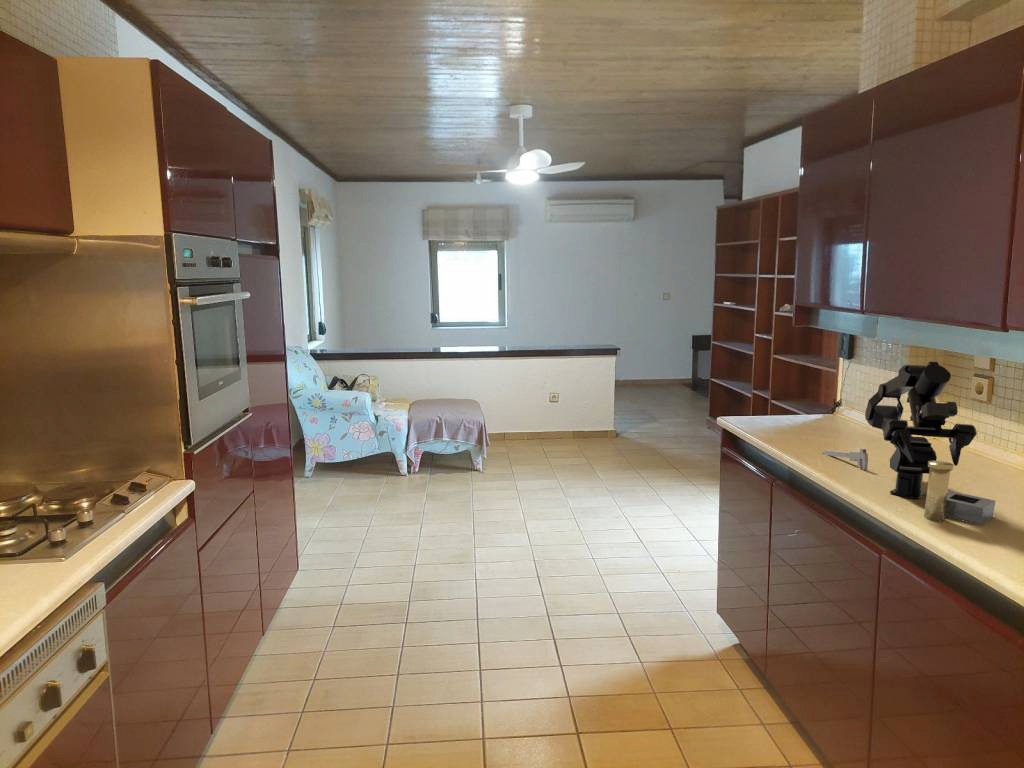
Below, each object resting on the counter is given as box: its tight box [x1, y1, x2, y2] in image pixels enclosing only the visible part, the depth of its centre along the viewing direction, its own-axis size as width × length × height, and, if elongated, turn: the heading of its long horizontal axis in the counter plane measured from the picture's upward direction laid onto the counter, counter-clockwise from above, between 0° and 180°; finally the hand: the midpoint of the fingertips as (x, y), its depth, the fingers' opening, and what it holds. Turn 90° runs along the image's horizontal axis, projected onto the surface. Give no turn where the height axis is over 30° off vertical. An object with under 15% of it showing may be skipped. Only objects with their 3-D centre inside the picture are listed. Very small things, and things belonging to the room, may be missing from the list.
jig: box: [945, 489, 996, 526], centre depth 168 cm, size 9×10×4 cm
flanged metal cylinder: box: [923, 460, 954, 522], centre depth 164 cm, size 5×5×13 cm
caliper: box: [821, 448, 869, 471], centre depth 215 cm, size 20×1×6 cm, turn 10°
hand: (934, 463), depth 167 cm, fingers open, 9 cm apart
